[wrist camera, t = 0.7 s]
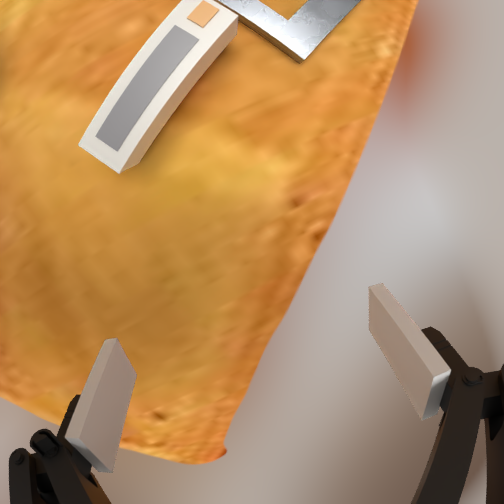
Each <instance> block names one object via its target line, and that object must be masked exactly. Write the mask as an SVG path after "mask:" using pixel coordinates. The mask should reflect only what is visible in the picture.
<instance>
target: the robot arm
mask: <svg viewBox="0 0 504 504" xmlns="http://www.w3.org/2000/svg"><path fill="white" fill-rule="evenodd" d="M369 330H370V332H371V333H372V335H373V337H374V339H375V340H376V342H377V344H378V345H379V347H380V349H381V350H382V352H383V354H384V355H385V357H386V359H387V361H388V362H389V364H390V366H391V367H392V369H393V371H394V373H395V374H396V376H397V378H398V380H399V381H400V383H401V385H402V387H403V388H404V390H405V392H406V393H407V395H408V397H409V399H410V401H411V402H412V404H413V406H414V408H415V410H416V412H417V413H418V415H419V417H420V419H421V420H424V419H427V418H429V417H431V416H434V415H436V414H437V413H438V410H439V407H441V408H442V410H443V411H444V414H443V416H442V419H441V422H440V424H439V426H440V427H439V430H438V433H437V437H436V440H435V443H434V446H433V449H432V452H431V454H430V457H429V461H428V463H427V465H426V468H425V471H424V473H423V476H422V478H421V481H420V483H419V486H418V489H417V491H416V493H415V495H414V497H413V500H412V502H411V504H458V502H459V499H460V497H461V493H462V490H463V487H464V484H465V481H466V477H467V474H468V471H469V467H470V463H471V459H472V455H473V451H474V447H475V443H476V438H477V433H478V429H479V424H480V419H484V421H485V434H486V454H487V492H486V493H487V494H486V504H504V364H503V366H502V368H501V370H499V371H494V372H488V373H483V372H482V371H481V370H479V369H478V368H474V367H468V365H467V364H466V363H465V362H464V360H463V359H462V358H461V357H460V355H459V354H458V353H457V352H456V350H455V349H454V348H453V347H452V346H451V344H450V343H449V342H448V341H447V340H446V339H445V337H444V336H443V335H442V334H441V332H440V331H438V330H436V329H434V328H432V327H428V328H425V329H422V330H420V329H419V327H418V326H417V325H416V324H415V322H414V321H413V320H412V319H411V317H410V316H409V315H408V314H407V312H406V311H405V310H404V309H403V307H402V306H401V305H400V304H399V303H398V301H397V300H396V299H395V298H394V297H393V295H392V294H391V293H390V292H389V291H388V289H387V288H386V287H385V286H384V285H383V283H381V284H377V285H373V286H370V287H369ZM136 377H137V374H136V372H135V371H134V369H133V367H132V365H131V363H130V362H129V360H128V358H127V356H126V354H125V352H124V350H123V348H122V347H121V345H120V343H119V341H118V339H117V338H113V339H106V340H105V341H104V343H103V345H102V347H101V349H100V352H99V354H98V356H97V358H96V361H95V363H94V365H93V368H92V370H91V372H90V374H89V377H88V379H87V382H86V384H85V386H84V389H83V391H82V394H81V395H76V396H75V397H74V398H73V400H72V401H71V402H70V404H69V406H68V409H67V412H66V414H65V416H64V417H65V418H64V419H63V421H62V424H61V426H60V429H59V431H58V434H57V437H56V436H55V435H54V434H53V433H52V432H51V431H50V430H48V429H41V430H38V431H37V432H36V433H34V435H33V436H32V438H31V440H30V447H31V448H32V449H33V450H34V451H35V452H36V453H34V454H30V453H29V452H28V451H27V450H26V449H24V448H18V449H16V450H15V451H14V452H13V453H12V454H11V456H10V458H9V490H10V504H111V502H110V501H109V499H108V497H107V496H106V494H105V493H104V491H103V489H102V488H101V486H100V485H99V483H98V481H97V480H96V478H95V476H94V475H93V473H91V467H92V466H93V467H94V468H95V469H96V470H97V471H98V472H109V473H113V469H114V464H115V460H116V455H117V451H118V447H119V443H120V438H121V434H122V430H123V426H124V422H125V418H126V414H127V410H128V406H129V403H130V399H131V395H132V391H133V388H134V384H135V380H136Z"/></svg>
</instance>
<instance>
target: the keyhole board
mask: <svg viewBox="0 0 504 504" xmlns="http://www.w3.org/2000/svg"><path fill="white" fill-rule="evenodd" d="M214 1H215V2H217V3H219V4H220V5H222V6H224V7H225V8H227V9H229V10H230V11H232V12H233V13H235V14H237V15H238V20H239V21H240V22H242V23H243V24H245V25H246V26H248V27H249V28H251V29H252V30H254V31H255V32H257V33H258V34H260V35H261V36H263V37H264V38H265V39H267V40H268V41H270V42H271V43H272V44H274V45H275V46H277V47H278V48H279V49H281V50H282V51H283V52H285V53H286V54H287V55H289V56H290V57H291V58H293V59H294V60H295V61H297V62H298V63H299V64H300V63H301V62H302V61H303V60H305V58H306V57H307V56H308V55H309V54H310V53H311V52H312V51H313V50H314V49H315V47H316V46H317V45H318V44H319V43H320V42H321V41H322V40H323V39H324V38H325V37H326V36H327V34H328V33H329V32H330V31H331V30H332V29H333V28H334V27H335V26H336V25H337V24H338V23H339V22H340V21H341V20H342V19H343V18H344V17H345V16H346V15H347V14H348V13H349V12H350V11H351V10H352V9H353V8H354V7H355V5H356V4H357V3H359V2H360V1H361V0H308V1H307V2H306V3H305V4H304V5H303V6H302V7H301V8H300V9H299V10H298V11H297V12H296V13H295V14H294V15H293V16H292V17H291V18H290V19H289V20H286V19H285V18H284V17H282V16H281V15H279V14H278V13H276V12H275V11H273V10H272V9H271V8H269V7H268V6H266V5H264V4H263V3H261V2H260V1H258V0H214Z"/></svg>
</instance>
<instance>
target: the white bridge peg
mask: <svg viewBox="0 0 504 504" xmlns="http://www.w3.org/2000/svg"><path fill="white" fill-rule="evenodd" d="M237 27H238V15H237V14H235V13H233V12H232V11H230V10H229V9H227V8H225V7H224V6H222V5H220V4H219V3H217V2H215V1H214V0H182V1H181V2H180V3H179V4H178V5H177V6H176V7H175V9H174V10H173V11H172V12H171V13H170V14H169V15H168V16H167V18H166V19H165V20H164V21H163V22H162V23H161V25H160V26H159V27H158V28H157V29H156V31H155V32H154V33H153V34H152V35H151V37H150V38H149V39H148V40H147V42H146V43H145V44H144V45H143V47H142V48H141V49H140V51H139V52H138V53H137V55H136V56H135V57H134V59H133V60H132V61H131V63H130V64H129V65H128V67H127V68H126V69H125V71H124V72H123V74H122V75H121V77H120V78H119V79H118V81H117V82H116V84H115V85H114V87H113V88H112V90H111V91H110V93H109V94H108V96H107V97H106V99H105V100H104V102H103V104H102V105H101V107H100V108H99V110H98V112H97V113H96V115H95V117H94V118H93V120H92V122H91V123H90V125H89V127H88V128H87V130H86V132H85V134H84V135H83V137H82V139H81V141H80V142H79V144H78V145H79V146H80V147H81V148H83V149H84V150H86V151H87V152H89V153H90V154H91V155H93V156H94V157H96V158H97V159H99V160H100V161H101V162H103V163H104V164H106V165H107V166H109V167H110V168H112V169H113V170H114V171H116V172H117V173H121V172H123V171H125V170H127V169H129V168H131V167H133V166H135V165H137V164H139V162H140V160H141V159H142V157H143V156H144V154H145V153H146V151H147V150H148V148H149V147H150V145H151V144H152V142H153V141H154V139H155V138H156V136H157V135H158V134H159V132H160V131H161V129H162V128H163V126H164V125H165V124H166V122H167V121H168V119H169V118H170V117H171V115H172V114H173V112H174V111H175V110H176V108H177V107H178V106H179V104H180V103H181V102H182V100H183V99H184V98H185V96H186V95H187V94H188V92H189V91H190V90H191V89H192V87H193V86H194V85H195V84H196V82H197V81H198V80H199V78H200V77H201V76H202V75H203V74H204V72H205V71H206V70H207V69H208V67H209V66H210V65H211V64H212V63H213V61H214V60H215V59H216V58H217V57H218V56H219V54H220V53H221V52H222V51H223V50H224V49H225V47H226V46H227V45H228V44H229V43H230V42H231V41H232V39H233V38H234V37H235V36H236V35H237Z"/></svg>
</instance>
